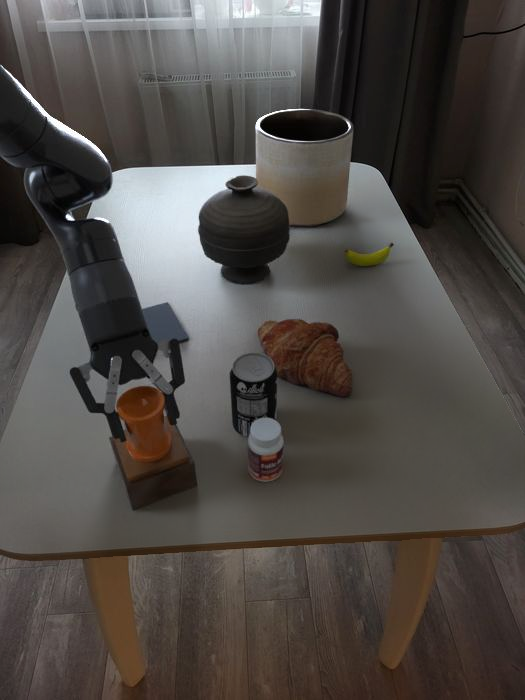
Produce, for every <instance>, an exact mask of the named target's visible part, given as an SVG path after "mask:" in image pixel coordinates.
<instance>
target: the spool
mask: <svg viewBox="0 0 525 700" xmlns="http://www.w3.org/2000/svg"><path fill="white" fill-rule="evenodd" d="M115 409H116V412H118V415H119V417H120V420H122V422H123V425H124V430H126V433H127V437H128V439H127V442H126V446H127V450H128V453H129V455H130V456H131V457H132V458H133V459H135V460H137V461H140V462H153V461H156V460H159V459H161V458H162V457H164V456H165V455H166V454H167V453H168V452H169V450H170V448H171V446H172V439H171V434H170V432H169V431H168V430H167V428H166V423H165V417H164V416H165V413H164V412H165V399H164V395H163V394H162V392H161V391H159V390H158V389H157V388H156V387H155V386H149V385H138V386H135V387H132V388H129V389H127V390H126V391H124V392H123V393H122V394H121V395H119V397H118V399H117V400H116V404H115Z"/></svg>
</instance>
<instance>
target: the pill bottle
mask: <svg viewBox="0 0 525 700" xmlns="http://www.w3.org/2000/svg"><path fill="white" fill-rule="evenodd" d="M284 444H285V443H284V437H283V434H282V427H281V425H280V423H279V422H278V421H277V419H276V420H274V419H271V418H260V419H257V420H256V421H254V422H253V423H252V425H251V428H250V435H249V437H248V438H247V462H248V463H247V465H248V468H247V469H248V472H249V474H250V476H251V477H252V478H253V479H254V480H256V481H259V482H262V483H269V482H272V481H274V480H277V479H278V478H279V477H280V476H281V475H282V472H283V465H284V463H283V461H284Z"/></svg>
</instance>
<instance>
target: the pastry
mask: <svg viewBox="0 0 525 700" xmlns="http://www.w3.org/2000/svg"><path fill="white" fill-rule="evenodd" d="M256 334H257V337H258V341H259V344H260V346H261V348H262V351H263V354H265V355H267V356H268V357H270V358H271V359H272V361H273V363H274V367H275V368H276V370H277V379H280V380H284V381H286V382H288V383H290V384H293V385H295V386H305V387H309V388H310V389H312V390H314V391H321V392H325V393H328V394H329V393H330V394H332V395H334V396H335V397H341V398H347V397H350V395H351V394H352V389H353V388H352V384H353V377H354V376H353V371H352V369H351V368H350V367H349V365H348V364H347V363H346V362H345V360H344V348H343V347H342V346H341V343H339V342H338V340H339V338H340V334H339V330H338V329H337V327H335V326H334V325H333V324H331V323H328V322H321V321H319V322H315V321H314V322H310V323H308V322H307V321H306V320H303V319H300V318H286V319H282V320H280V321H277V320H266V321H264V322H263V323H262V324H261V325H260V326H259V327H258V328H257V332H256Z"/></svg>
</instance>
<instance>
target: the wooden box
mask: <svg viewBox="0 0 525 700" xmlns="http://www.w3.org/2000/svg"><path fill="white" fill-rule="evenodd" d="M164 417H165V423H166V428H167V430H168V431H169V432H170V434H171V439H172V446H171V448H170V450H169V452H168V453H167V454H166V455H165V456H164V457H162V458H161V459H159V460H156V461H153V462H140V461H137V460H135V459H133V458H132V457H131V456H130V455H129V453H128V450H127V446H126V442H127V441H125V442H122V443H121V442H120V440H119V439H115V438H114V437H113V436H112V435H111V436H109V437H108V440H109V443H110V447H111V451H112V454H113V458H114V461H115V464H116V467H117V470H118V473H119V475H120V479H121V481H122V484H123V487H124V489H125V493H126V496H127V499H128V502H129V504H130V507H131V511H135V510H137V509H140V508H142V507H145V506H148V505H151V504H153V503H155V502H159V501H161V500H164V499H166V498H169V497H171V496H174V495H176V494H179V493H181V492H184V491H187V490H189V489H192V488H195V487H197V486H198V480H197V479H198V478H197V472H196V471H197V470H196V465H195V464H196V463H195V460H194V458H193V456H192V454H191V452H190V450H189V448H188V445H187V444H186V442H185V439H184V438H183V436H182V434H181V431H180V430H179V427H178V424H175V425H172V426H171V425H170V424H169V421H168V418H167V415H164ZM123 430H124V433H125V436H126V440H127V439H128V437H127V433H126V430H125V429H123Z"/></svg>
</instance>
